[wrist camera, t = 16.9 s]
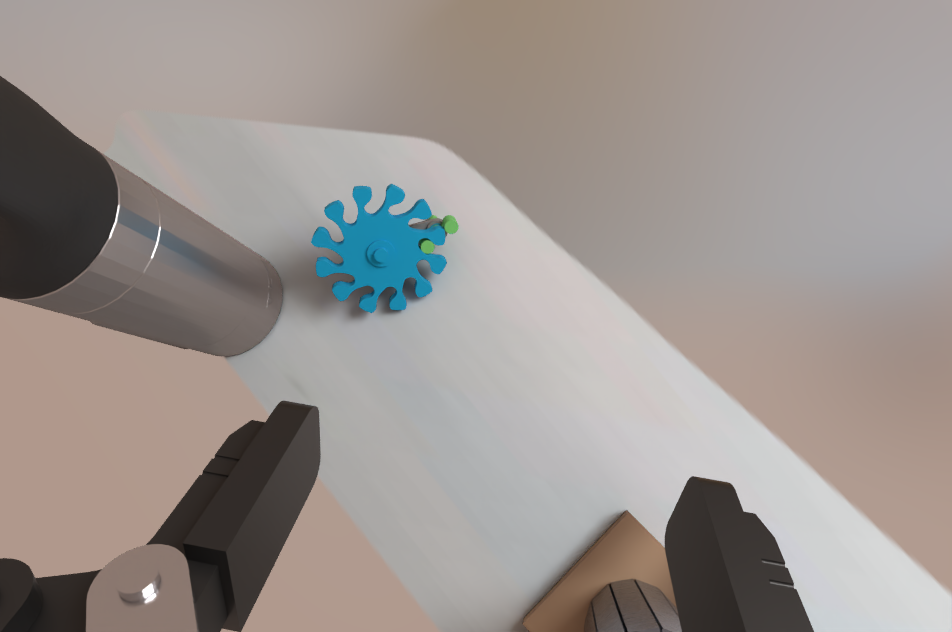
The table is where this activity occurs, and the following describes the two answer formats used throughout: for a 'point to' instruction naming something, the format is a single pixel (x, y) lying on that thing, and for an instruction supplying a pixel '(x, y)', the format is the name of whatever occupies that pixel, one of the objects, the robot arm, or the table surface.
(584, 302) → the table surface
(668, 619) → the sleeve
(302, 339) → the table surface
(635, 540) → the base plate
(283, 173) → the table surface
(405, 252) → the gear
